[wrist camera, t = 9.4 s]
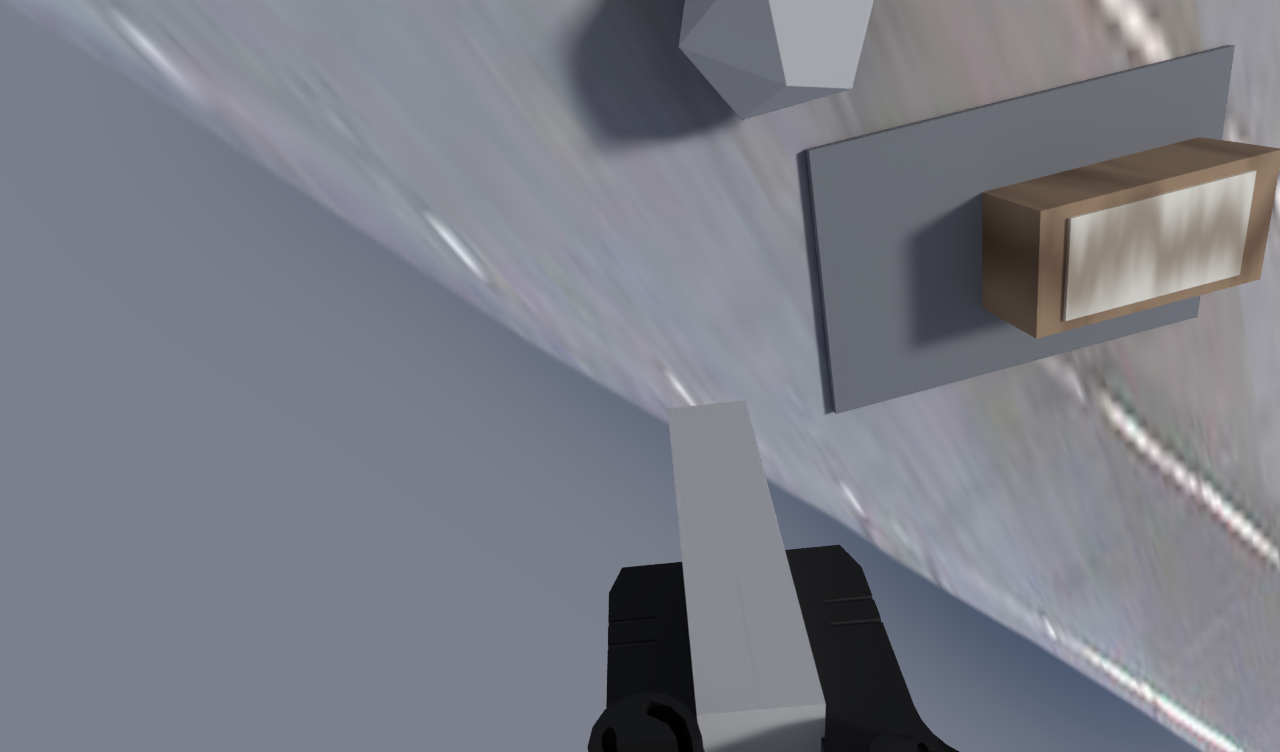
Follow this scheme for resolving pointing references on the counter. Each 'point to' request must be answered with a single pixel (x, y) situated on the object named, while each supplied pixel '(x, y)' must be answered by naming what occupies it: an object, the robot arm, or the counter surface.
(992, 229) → the label block
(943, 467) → the counter surface
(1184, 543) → the counter surface
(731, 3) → the die
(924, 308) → the mat
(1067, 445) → the counter surface
